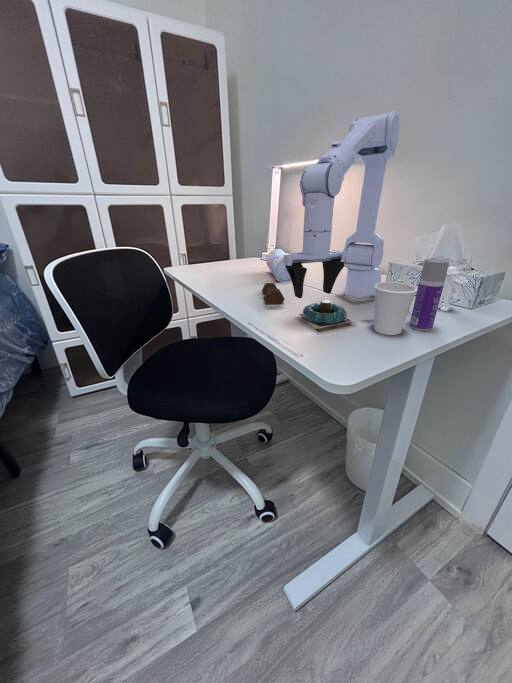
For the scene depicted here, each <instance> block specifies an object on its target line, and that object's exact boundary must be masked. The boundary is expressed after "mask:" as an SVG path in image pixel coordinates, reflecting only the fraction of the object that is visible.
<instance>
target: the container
mask: <svg viewBox="0 0 512 683" xmlns="http://www.w3.org/2000/svg"><path fill="white" fill-rule="evenodd" d="M449 265H450V261H449V260H448V259H444V258H443V259H442V258H425V259H424V262H423V266H422V270H421V274H420V276H419V280H418V284H417V289H418V291H417V292H416V293H415V297H414V303H413V307H412V311H411V315H410V320H409V324H408V326H409V328H410V329H412V330H416V331H419V332H431V331H432V330H433V327H434V324H435V320H436V316H437V312H438V309H439V308H438V305H439V301H440V298H441V294H442V290H443V286H444V282H445V278H446V274H447V269H448V268H449Z"/></svg>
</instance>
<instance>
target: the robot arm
mask: <svg viewBox="0 0 512 683" xmlns="http://www.w3.org/2000/svg"><path fill="white" fill-rule="evenodd" d="M400 124H401V123H400V116H399V114H398V112H397V111H396V110H391V112H386V113H381V114H377V115H371V116H366V117H355V118H354V119H353V120H352V121H351V122H350V124H349V127H348V128H349V129H348V134H347V135H346V137H345V138H344V139H343V140H336V141H333V142H332V143H331V145H330V147H329V149H328V150H327V151H326V152H325V153H324V154H323V155H321V157H320V159H319V160H318V161H317V162H316V163H315V164H308V165H307V167H306V168H304V170H303V171H302V174H301V177H300V180H299V189H300V190H299V191H300V193H301V199H302V200H301V203H302V206H303V207H304V215H303V235H302V251H300V252H295V253H289V254H285V255H284V265H286V269H287V271H288V273H289V275H290V278H291V281H290V282H291V284H292V288H293V292H294V293H293V294H294V297H296V298H298V299H302V298H303V295H304V283H305V279H306V274H307V271H308V268H307V267H304V265H303V264H311V263H321V264H322V271H323V272H322V273H323V281H322V292H323V293H326V294H328V295H329V294H331V293H332V291H333V288H334V285H335V283H336V280H337V279H338V276H339V275H340V273H341V272H342V271H343V269H344V268H346V277H345V285H344V286H345V287H344V296H346V297H349V298H355V299H366V298H370V297H373V296H374V297H375V287H374V286H375V284H377V283H380V282H382V273H381V271H380V269H379V268H378V267H380V265H381V264H382V261H383V258H384V246H385V244H384V243H385V242H384V239H383V238H382V237H381V236H380V235H379V234H378V232H376V228H377V221H378V216H379V209H380V204H381V203H380V202H381V197H382V192H383V185H384V179H385V174H386V168H387V164H388V160H390V159H392V158H393V157H395V153H396V150H397V146H398V140H399V135H400V129H401V126H400ZM356 159H357V160H358V161H359V162H362V163H363V164H364V174H363V180H362V187H361V193H360V203H359V208H358V215H357V221H356V228H355V232H354V233H352V234H350V235H349V236H348V237H347V238H346V240H345V245H344V247H343V249H335V250H334V249H333V250H331V241H332V230H333V221H334V220H333V219H334V208H335V199H336V197H337V196H338V195H339V194H340V192H341V189H342V185H343V182H344V181H345V176H346V175H347V173H348V172H349V171H350V170H351V168H352V167H353V166H354V164H355V162H356Z"/></svg>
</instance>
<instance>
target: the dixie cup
mask: <svg viewBox="0 0 512 683" xmlns="http://www.w3.org/2000/svg"><path fill="white" fill-rule="evenodd" d="M374 287H375V295H374V310H373V311H374V312H373V313H374V314H373V330H374V331H375V332H377V333H378V334H381V335H386V336H396V335H397V336H398V335H400V334H401V333H402V331H403V328H404V325H405V323H406V320H407V317H408V314H409V312H410V310H411V306H412V304H413V301H414V299H415V297H416V293H417V291H418V287H417V286H415V285H413V284H410V283H406V282H401V281H381V282H380V283H377V284H375V286H374Z"/></svg>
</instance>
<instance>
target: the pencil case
mask: <svg viewBox="0 0 512 683" xmlns="http://www.w3.org/2000/svg"><path fill="white" fill-rule="evenodd" d="M284 255H286V253H285V251H284V250H282V248H276V249H273V250H270V251H269V253H268V254H267V256H266V259H265V262H266V266H267V268H268V269H269V271H270V272H271V273H272V275H273V276H274V277H275V279H276V280H277V281H278V282H280V283H288V282H292V281H291V278H290V275H289V273H288V271H287V269H286V265H284Z"/></svg>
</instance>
